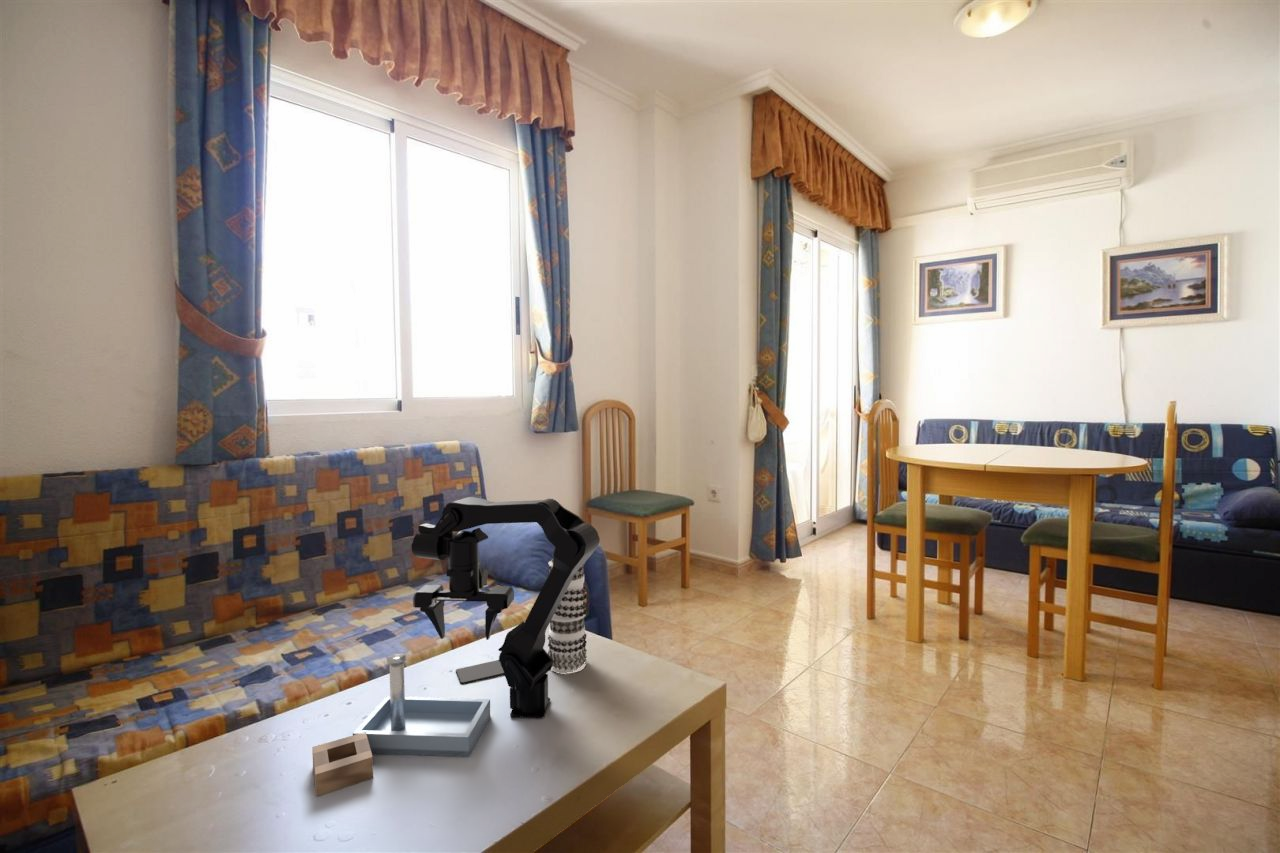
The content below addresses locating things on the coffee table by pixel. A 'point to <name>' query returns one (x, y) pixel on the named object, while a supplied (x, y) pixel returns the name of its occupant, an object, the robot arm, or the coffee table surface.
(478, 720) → the tray
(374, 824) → the coffee table surface
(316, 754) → the pin block
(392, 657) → the metal pin
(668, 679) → the coffee table surface
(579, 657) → the decorative candle
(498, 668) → the smartphone
